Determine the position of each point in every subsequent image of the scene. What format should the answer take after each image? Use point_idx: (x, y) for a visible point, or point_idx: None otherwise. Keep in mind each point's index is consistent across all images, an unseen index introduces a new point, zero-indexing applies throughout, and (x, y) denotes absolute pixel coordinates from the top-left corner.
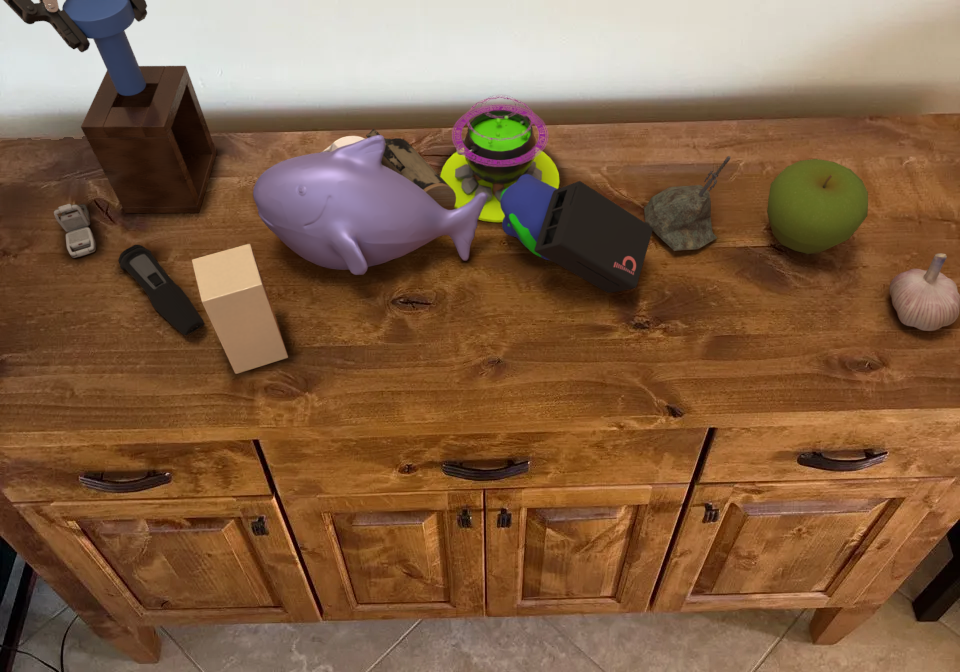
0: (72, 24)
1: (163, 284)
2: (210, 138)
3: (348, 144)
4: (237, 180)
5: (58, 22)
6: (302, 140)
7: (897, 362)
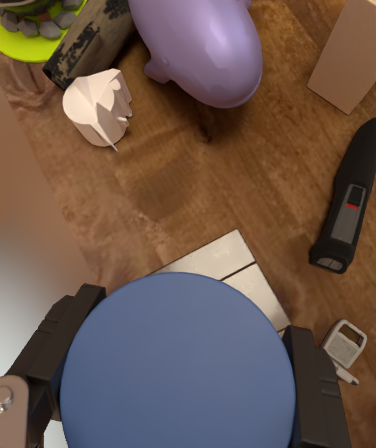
0: (305, 382)
1: (358, 180)
2: None
3: (77, 114)
4: (160, 246)
5: (337, 429)
6: (67, 220)
7: None
